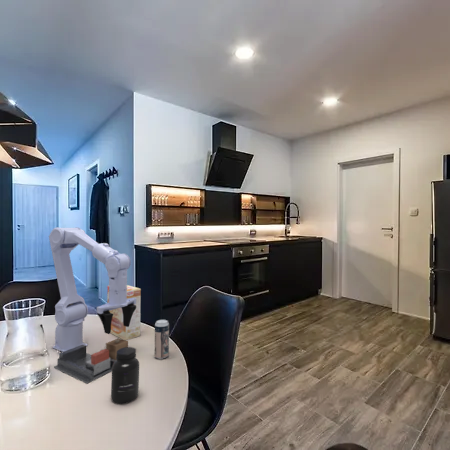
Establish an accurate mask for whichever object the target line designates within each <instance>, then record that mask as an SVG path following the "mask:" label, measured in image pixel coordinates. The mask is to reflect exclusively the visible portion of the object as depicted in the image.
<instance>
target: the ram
mask: <svg viewBox="0 0 450 450" xmlns="http://www.w3.org/2000/svg"><path fill="white" fill-rule="evenodd" d="M108 368H110V357H109V350H107V349H106V348H104V349H102V350H99V351H97V352H95V353H91V360H89V361H87V362H86V369H89V370H91V371H93V372H94V375H96V374H98V373H100V372H102V371H104V370H106V369H108Z"/></svg>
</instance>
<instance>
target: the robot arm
mask: <svg viewBox="0 0 450 450" xmlns="http://www.w3.org/2000/svg"><path fill="white" fill-rule="evenodd" d="M48 240H49V244H50V249H51V250H50V251H51V254H52V259H53V264H54V265H53V266H54V269H55V270H54V271H55V275H56V279H57V280H56V281H57V285H58V291H59V295H60V299H59V300H58V302H57V303H56V304H55V306H54V308H55V311H54V312H55V313H54V318H55V319H54V320H55V322H56V324H57V325H56V327H55V331H54V335H55V336H54V339H55V341H54V345H53V346H52V349H54V350H57V351H60V352H64V351H67V350H69V349H72V348H75V347H78V346H80V345H86V347H88V346H89V345H88V343H85V342H84V341H83V339H84V338H83V333H84V330H83V329H84V328H83V327H84V325H83V323H84V322H85V318H86V317H88V314H89V308H88V305H87V304H86V301H85V299H84V297H83V296H81V295H79V294H78V291H77V290H78V289H77V285H76V281H75V275H74V271H73V270H74V269H73V266H72V260H71V257H70V256H71V255H70V254H71V252H72V251H73V250H74V249H76V248H77V247H78V246H79V245H80V246H81V247H82V248H85V249H87V250H89V251H90V252H92V257H93V258H94V259H96V260H97V261H99V262H101V263H102V264H103V265H105V269H106V271H107V276H108V286H109V303H104V304H102V305H99V306H96V313H97V316H98V318H99V319H100V322H101V323H102V327H103V330H104V333H105V334H111V333H110V332H111V322H112V317H113V314H112V313H110V312H109V311H110V310H114V309H117V308H121V307H122V311H123V325H124V326H126V327H129V324H130V321H131V317H132V315H133V313H134V311H135V309H136V305H134V304H136V298H129V299H127V285H128V269H129V268H130V267H131V265H132V264H131V263H132V262H131V261H132V260H131V258H130V256H129V255H128V254H127V253H125V252H124V253H120V252H119V251H118V250H117V249H113V247H110V244H108V243H106V242H103V243H102V242H101V243H99V242H97V241H95V239H93V238H92V237H90V236H89V235H88V234H86V231H85V230H83V229H82V228H80V227H58V226H57V227H54V228H52V230H51V232H50V234H49V235H48Z"/></svg>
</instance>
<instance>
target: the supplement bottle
mask: <svg viewBox="0 0 450 450" xmlns="http://www.w3.org/2000/svg"><path fill="white" fill-rule="evenodd" d="M136 351H137V350H136V348H135V347H131V346H128V347H125V348H121V349H119V350H118V351H117V355H116V361H115V362H114V363H113V365H112V371H111V380H110V381H111V387H110V399H111V401H112V402H114V403H115V404H119V405H122V404H128V403H129V404H130V402H131V403H132V402H133V401H134V400H135V399H136V398H137V397H138V396H139V389H140V361H139V359H138V358H137V352H136Z"/></svg>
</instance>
